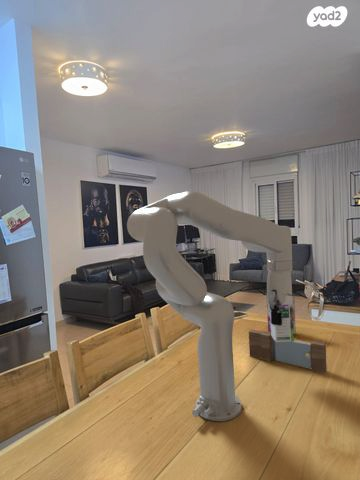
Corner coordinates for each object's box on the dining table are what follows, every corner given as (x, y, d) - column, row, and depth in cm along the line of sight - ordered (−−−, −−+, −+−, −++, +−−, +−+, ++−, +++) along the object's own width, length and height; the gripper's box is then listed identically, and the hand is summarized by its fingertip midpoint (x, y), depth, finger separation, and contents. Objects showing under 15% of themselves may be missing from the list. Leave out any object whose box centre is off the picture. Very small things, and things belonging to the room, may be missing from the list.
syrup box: (275, 342, 97) (273, 296, 96) (270, 335, 103) (269, 292, 102) (294, 341, 97) (292, 295, 96) (288, 334, 103) (286, 291, 102)
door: (310, 370, 103) (309, 344, 102) (271, 360, 111) (270, 337, 110) (312, 367, 105) (311, 342, 104) (273, 358, 113) (272, 335, 112)
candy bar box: (296, 334, 135) (294, 296, 133) (289, 337, 132) (288, 299, 130) (274, 327, 144) (272, 292, 142) (267, 330, 141) (265, 294, 139)
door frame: (324, 374, 100) (323, 345, 100) (249, 356, 116) (247, 331, 116) (326, 370, 103) (325, 342, 102) (252, 353, 119) (251, 329, 118)
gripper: (277, 261, 107) (279, 311, 109) (256, 269, 94) (258, 327, 95) (300, 262, 103) (302, 314, 104) (281, 270, 89) (283, 331, 90)
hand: (281, 320), depth 99 cm, fingers closed on syrup box, 7 cm apart
